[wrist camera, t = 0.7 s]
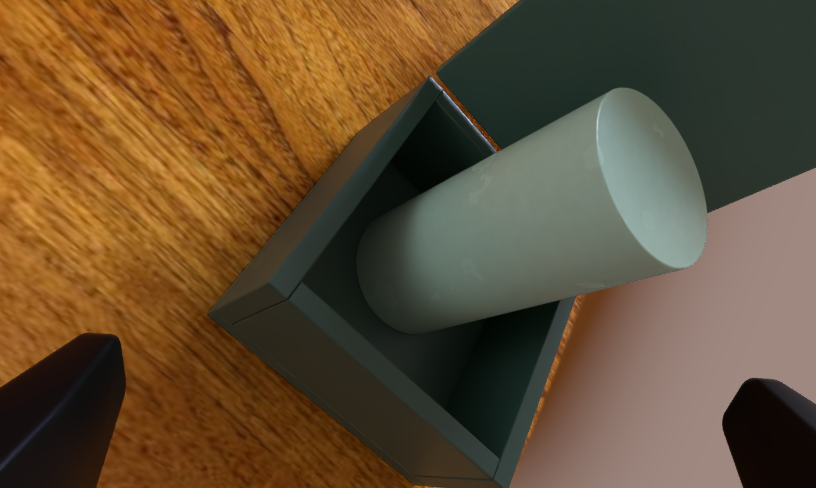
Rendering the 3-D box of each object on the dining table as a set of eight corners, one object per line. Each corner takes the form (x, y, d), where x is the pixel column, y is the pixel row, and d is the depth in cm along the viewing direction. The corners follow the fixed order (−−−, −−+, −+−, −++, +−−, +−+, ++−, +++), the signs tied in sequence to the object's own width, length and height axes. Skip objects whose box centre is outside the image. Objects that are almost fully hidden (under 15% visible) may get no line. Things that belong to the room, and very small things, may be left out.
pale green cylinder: (439, 356, 26) (708, 304, 17) (337, 297, 23) (585, 199, 14) (467, 251, 28) (709, 157, 19) (378, 189, 26) (606, 50, 17)
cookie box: (414, 486, 24) (507, 493, 20) (205, 314, 21) (267, 282, 17) (507, 282, 31) (590, 257, 27) (360, 129, 28) (430, 74, 24)
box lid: (940, 116, 18) (933, 106, 19) (766, -201, 15) (763, -203, 16) (597, 260, 26) (598, 250, 27) (434, 73, 23) (439, 66, 23)
